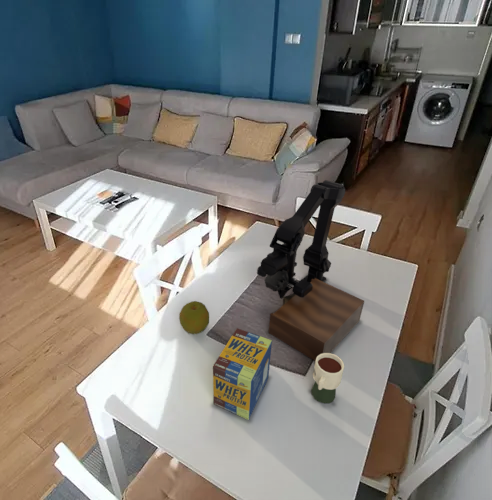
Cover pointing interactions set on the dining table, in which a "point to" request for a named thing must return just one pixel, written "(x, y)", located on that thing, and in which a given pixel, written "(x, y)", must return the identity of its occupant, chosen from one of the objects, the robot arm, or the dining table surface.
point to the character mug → (327, 377)
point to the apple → (194, 317)
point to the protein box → (241, 372)
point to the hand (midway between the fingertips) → (281, 298)
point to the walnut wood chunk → (316, 319)
